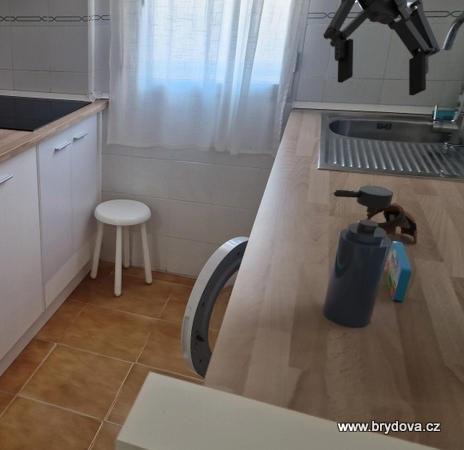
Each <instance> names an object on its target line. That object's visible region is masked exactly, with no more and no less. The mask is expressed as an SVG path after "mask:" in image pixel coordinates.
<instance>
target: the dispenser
mask: <svg viewBox="0 0 464 450" xmlns="http://www.w3.org/2000/svg"><path fill="white" fill-rule="evenodd" d="M378 223H379V222H377V221H375V220H372V219H370V220H367V218H362V219H359V220H358V222H354V223H351V224H348V225H347V227H346V228H343V229H342V230H340V231H339V233H338V237H337V243H336V246H335V247H336V248H335V252H334V257H333V261H332V265H331V270H330V274H329V279H328V284H327V288H326V289H327V290H326V293H325V296H324V297H325V298H324V303H323V307H322V313H323V316H325V318H326V319H328V320H329V321H330V322H332V323H334V324H336V325H339V326H341V327H346V328H352V329H360V328H365V327H367V326H369V325H370V324H371V322H372V318H373V315H374V310H375V307H376V302H377V299H378V296H379V291H380V288H381V284H382V280H383V276H384V273H385V269H386V265H387V261H388V257H389V253H390V250H391V246H392V240H391V239H390V237H389V236H387V234H386V231H385V230H383V229H382V228H380V227H378Z"/></svg>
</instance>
